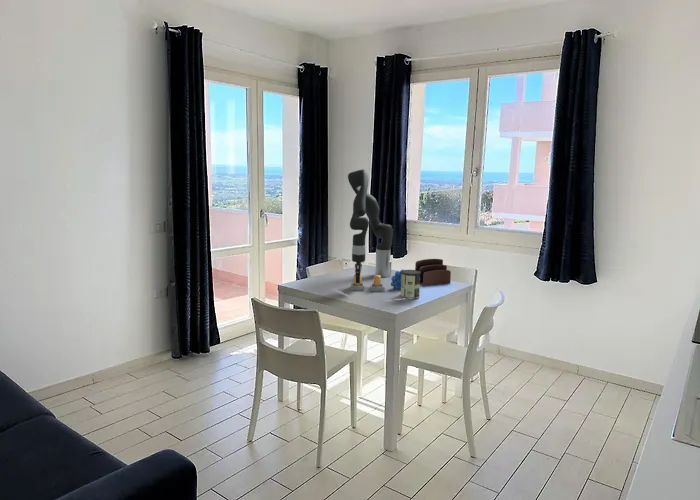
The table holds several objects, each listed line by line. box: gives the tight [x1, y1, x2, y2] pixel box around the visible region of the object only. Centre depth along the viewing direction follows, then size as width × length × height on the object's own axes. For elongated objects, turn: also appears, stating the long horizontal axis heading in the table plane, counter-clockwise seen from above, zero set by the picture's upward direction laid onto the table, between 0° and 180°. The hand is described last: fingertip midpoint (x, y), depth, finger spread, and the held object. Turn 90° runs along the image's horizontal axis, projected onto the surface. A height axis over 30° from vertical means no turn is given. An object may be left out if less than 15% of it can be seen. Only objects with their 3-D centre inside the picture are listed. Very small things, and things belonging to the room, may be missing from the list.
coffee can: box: [400, 269, 421, 300], centre depth 278 cm, size 10×10×14 cm
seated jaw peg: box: [373, 274, 382, 287], centre depth 288 cm, size 4×4×8 cm
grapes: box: [390, 269, 404, 290], centre depth 292 cm, size 12×7×12 cm, turn 109°
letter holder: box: [414, 258, 452, 286], centre depth 312 cm, size 10×20×14 cm, turn 114°
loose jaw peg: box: [353, 274, 362, 286], centre depth 289 cm, size 4×4×8 cm
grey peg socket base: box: [348, 282, 386, 293], centre depth 289 cm, size 20×11×4 cm, turn 86°
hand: (358, 281), depth 289 cm, fingers open, 8 cm apart
